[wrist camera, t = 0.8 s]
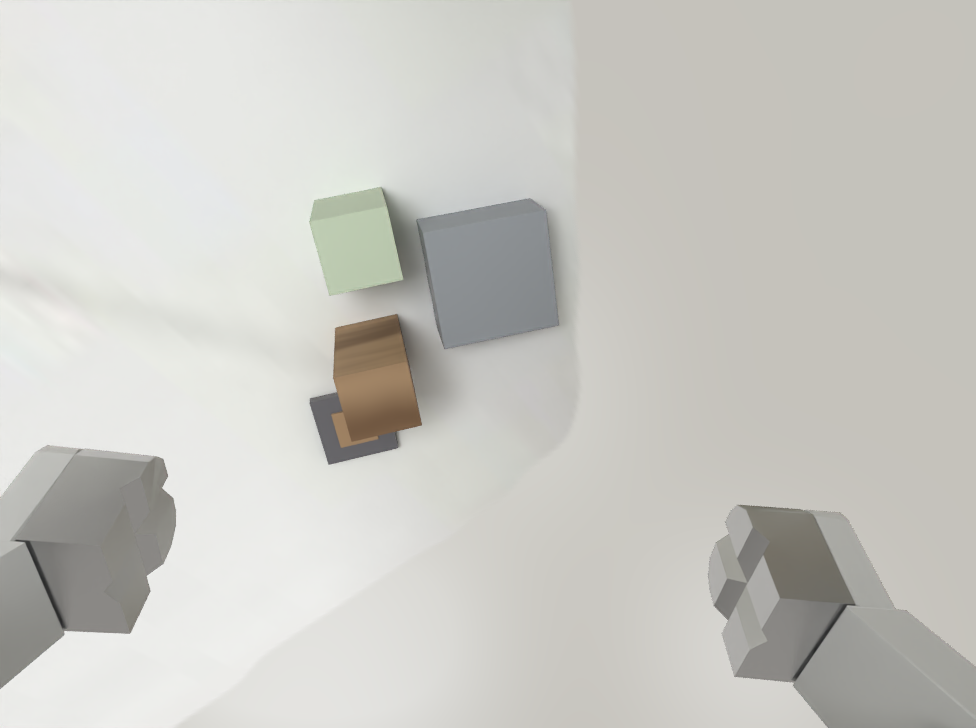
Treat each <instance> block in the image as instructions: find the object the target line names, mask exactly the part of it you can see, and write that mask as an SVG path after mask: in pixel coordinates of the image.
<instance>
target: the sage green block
mask: <svg viewBox="0 0 976 728" xmlns="http://www.w3.org/2000/svg"><path fill="white" fill-rule="evenodd" d="M309 223H310V226H311V230H312V234H313V237H314V241H315V245H316V248H317V252H318V256H319V259H320V263H321V266H322V270H323V274H324V277H325V281H326V285H327V288H328V292H329V296H331V295H336V294H341V293H345V292H350V291H354V290H359V289H364V288H368V287H373V286H377V285H382V284H387V283H391V282H396V281H401V280H403V276H402V271H401V267H400V262H399V258H398V253H397V249H396V245H395V240H394V236H393V231H392V227H391V222H390V218H389V214H388V209H387V205H386V202H385V198H384V195H383V192H382V188H381V187H379V188H374V189H369V190H364V191H359V192H354V193H349V194H344V195H339V196H334V197H329V198H324V199H319V200H314V204H313V208H312V213H311V217H310V221H309Z"/></svg>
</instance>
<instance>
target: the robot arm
mask: <svg viewBox="0 0 976 728" xmlns="http://www.w3.org/2000/svg"><path fill="white" fill-rule="evenodd" d="M167 477H168V474H167V470H166V467H165V463H164V460H163V459H162V458H159V457H156V456H148V455H139V454H130V453H120V452H111V451H102V450H93V449H78V448H68V447H59V446H50V445H47V446H45V447H43V448H42V449H40V450H38V451H37V452H35V453H34V455H33V456H32V457H31V458H30V460H29V461H28V462H27V464H26V465H25V466H24V467H23V469H22V470H21V471H20V473H19V474H18V475H17V476H16V478H15V479H14V480H13V482H12V483H11V484H10V485H9V487H8V488H7V489H6V491H5V492H4V493H3V494H2V496H1V497H0V689H1V688H2V687H3V686H4V685H6V684H7V683H8V682H9V681H10V680H11V679H13V678H14V677H15V676H16V675H17V674H19V673H20V672H21V671H22V670H23V669H24V668H26V667H27V666H28V665H29V664H30V663H32V662H33V661H34V660H35V659H36V658H37V657H39V656H40V655H41V654H42V653H43V652H45V651H46V650H47V649H48V648H49V647H50V646H52V645H53V644H54V643H55V642H56V641H58V640H59V639H60V638H61V637H62V636H64V631H80V632H103V633H125V634H130V633H131V631H132V629H133V627H134V625H135V622H136V620H137V618H138V616H139V614H140V612H141V610H142V608H143V606H144V604H145V601H146V599H147V597H148V595H149V593H150V588H149V584H148V580H147V577H146V576H147V575H148V574H150V573H151V572H152V571H154V570H155V569H157V568H158V567H159V566H161V565H162V564H163V563H164V561H165V559H166V557H167V554H168V552H169V550H170V548H171V544H172V540H173V536H174V531H175V527H176V509H175V505H174V500H173V498H172V497H171V496H170V495H169V494H168V493H167V492H166V491H164V490H163V489H162V487H163V485H164V483H165V481H166V479H167ZM725 523H726V526H727V529H728V532H729V534H728V535H727V536H725V537H724V538H722V539H721V540H719V541H717V542H716V544H715V546H714V549H713V551H712V554H711V556H710V561H709V571H708V579H709V588H710V593H711V597H712V600H713V604H714V606H715V607H716V608H717V609H718V610H719V611H720V612H721V613H722V614H723V615H724V617H725V618H726V619H727V620H728V622H727V624H726V626H725V628H724V630H723V632H722V636H723V639H724V643H725V646H726V650H727V653H728V656H729V660H730V663H731V667H732V670H733V674H734V677H743V678H753V679H764V680H774V681H784V682H794V684H793V686H794V688H795V689H796V690H797V691H798V692H799V694H800V695H801V696H802V697H803V698H804V700H805V701H806V702H807V703H808V704H809V706H810V707H811V708H812V709H813V710H814V712H815V713H816V714H817V715H818V716H819V718H820V719H821V720H822V721H823V722H824V724H825V725H826V726H827V727H828V728H976V666H974V665H973V664H972V663H971V662H969V661H968V660H967V659H966V658H965V657H963V656H962V655H961V654H960V653H958V652H957V651H956V650H955V649H953V648H952V647H951V646H950V645H949V644H947V643H946V642H945V641H944V640H942V639H941V638H940V637H939V636H937V635H936V634H935V633H934V632H933V631H931V630H930V629H929V628H928V627H926V626H925V625H924V624H923V623H921V622H920V621H919V620H918V619H917V618H915V617H914V616H913V615H912V614H910V613H909V612H908V611H907V610H899V609H896V608H895V607H894V605H893V603H892V601H891V599H890V597H889V595H888V593H887V592H886V590H885V588H884V586H883V584H882V582H881V581H880V578H879V577H878V575H877V573H876V571H875V569H874V567H873V565H872V563H871V561H870V560H869V558H868V556H867V554H866V552H865V550H864V548H863V546H862V545H861V543H860V541H859V539H858V537H857V535H856V533H855V532H854V530H853V528H852V526H851V524H850V522H849V520H848V519H847V518H846V517H845V516H844V515H843V514H841V513H840V512H839V513H838V512H827V511H813V510H804V511H803V510H800V509H789V508H775V507H760V506H747V505H737V506H735V507H734V508H733V509H732V510H731V512H730V513H729V515H728V517H727V520H726V522H725Z"/></svg>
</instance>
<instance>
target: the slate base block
mask: <svg viewBox="0 0 976 728" xmlns="http://www.w3.org/2000/svg"><path fill="white" fill-rule="evenodd" d="M417 224H418V230H419V235H420V240H421V246H422V251H423V256H424V261H425V267H426V272H427V277H428V283H429V288H430V293H431V298H432V304H433V309H434V314H435V320H436V325H437V329H438V332H439V335H440V338H441V340H442V343H443V346H444V349H448V348H453V347H457V346H462V345H467V344H472V343H477V342H481V341H486V340H491V339H496V338H501V337H505V336H510V335H515V334H520V333H524V332H529V331H534V330H539V329H544V328H548V327H553V326H558V325H559V322H558V313H557V304H556V295H555V286H554V277H553V268H552V259H551V250H550V241H549V232H548V223H547V214H546V209H544V208H543V207H542V206H540V205H539V204H537V203H536V202H535V201H533V200H532V199H524V200H519V201H514V202H508V203H503V204H497V205H492V206H487V207H481V208H476V209H471V210H465V211H460V212H455V213H449V214H444V215H438V216H433V217H428V218H422V219H417Z"/></svg>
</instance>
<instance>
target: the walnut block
mask: <svg viewBox="0 0 976 728" xmlns="http://www.w3.org/2000/svg"><path fill="white" fill-rule="evenodd" d="M333 379H334V382H335V386H336V389H337V393H338V396H339V400H340V403H341V407H342V410H343V414H344V417H345V421H346V424H347V428H348V431H349V435H350V438H351V442H354V441H358V440H362V439H367V438H371V437H375V436H379V435H383V434H388V433H392V432H396V431H400V430H404V429H409V428H413V427H417V426H421V425H422V423H421V418H420V414H419V409H418V404H417V399H416V395H415V390H414V385H413V381H412V376H411V371H410V367H409V363H408V358H407V354H406V350H405V346H404V341H403V337H402V333H401V329H400V324H399V320H398V316H397V314H395V315H391V316H386V317H382V318H377V319H373V320H368V321H364V322H359V323H355V324H350V325H346V326H341V327H337V328H335V348H334V373H333Z"/></svg>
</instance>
